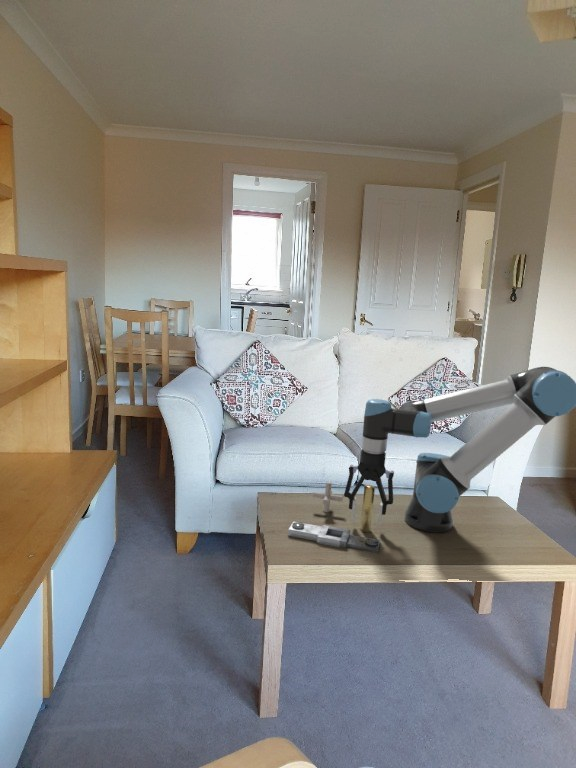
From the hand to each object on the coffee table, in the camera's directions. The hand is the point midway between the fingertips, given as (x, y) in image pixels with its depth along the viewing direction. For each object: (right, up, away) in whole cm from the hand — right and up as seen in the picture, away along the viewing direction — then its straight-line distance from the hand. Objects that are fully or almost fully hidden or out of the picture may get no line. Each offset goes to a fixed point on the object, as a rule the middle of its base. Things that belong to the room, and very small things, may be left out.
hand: (366, 521), depth 164 cm
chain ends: (-11, -3, -8) cm, 14 cm away
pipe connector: (-11, 0, +12) cm, 17 cm away
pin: (0, -3, 0) cm, 3 cm away
